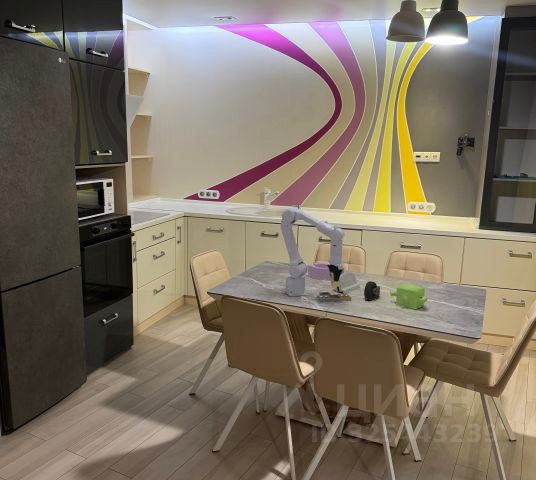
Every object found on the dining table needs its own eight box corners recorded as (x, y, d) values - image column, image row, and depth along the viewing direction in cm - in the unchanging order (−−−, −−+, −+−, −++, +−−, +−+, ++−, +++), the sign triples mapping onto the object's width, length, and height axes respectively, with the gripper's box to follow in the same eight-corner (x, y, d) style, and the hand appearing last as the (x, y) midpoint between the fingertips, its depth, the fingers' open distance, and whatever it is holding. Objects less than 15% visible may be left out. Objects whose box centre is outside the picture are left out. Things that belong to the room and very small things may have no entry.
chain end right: (331, 301, 242) (331, 297, 241) (326, 297, 248) (327, 293, 247) (351, 300, 244) (351, 296, 244) (346, 296, 250) (346, 292, 250)
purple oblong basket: (346, 278, 285) (347, 267, 284) (337, 283, 275) (337, 271, 273) (315, 273, 296) (316, 261, 294) (305, 277, 285) (306, 265, 284)
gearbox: (385, 304, 241) (386, 286, 239) (395, 299, 248) (395, 281, 246) (420, 312, 229) (421, 293, 227) (429, 306, 237) (430, 287, 235)
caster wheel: (371, 304, 243) (384, 294, 254) (372, 285, 240) (384, 276, 252) (361, 301, 246) (373, 292, 257) (361, 283, 243) (374, 274, 255)
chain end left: (320, 302, 240) (320, 298, 240) (316, 298, 246) (316, 294, 246) (340, 301, 243) (340, 297, 242) (336, 297, 248) (336, 293, 248)
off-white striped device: (343, 294, 255) (339, 275, 255) (336, 295, 258) (331, 276, 258) (360, 287, 267) (356, 269, 267) (353, 288, 270) (349, 271, 271)
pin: (332, 287, 242) (333, 273, 240) (329, 284, 245) (330, 271, 244) (339, 286, 243) (340, 273, 241) (337, 284, 246) (337, 271, 245)
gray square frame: (322, 297, 248) (322, 295, 248) (319, 294, 253) (319, 292, 252) (331, 297, 249) (331, 294, 249) (328, 294, 254) (328, 292, 253)
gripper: (349, 256, 235) (348, 283, 237) (338, 249, 249) (336, 276, 251) (335, 256, 233) (334, 284, 236) (324, 250, 247) (323, 276, 249)
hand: (334, 280), depth 243 cm, fingers closed on pin, 4 cm apart
